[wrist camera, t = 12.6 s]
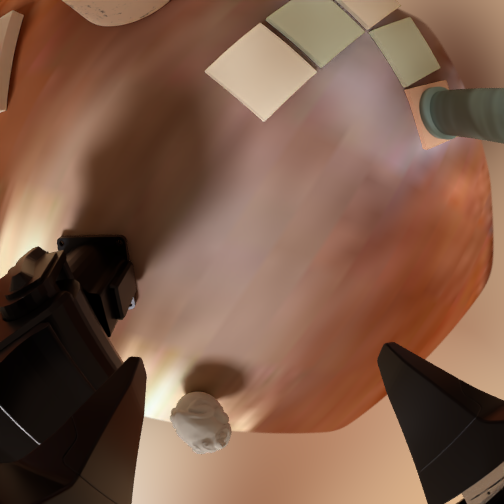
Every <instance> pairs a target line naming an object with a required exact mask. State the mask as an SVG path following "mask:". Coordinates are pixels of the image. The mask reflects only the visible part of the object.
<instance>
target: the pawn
mask: <svg viewBox="0 0 504 504" xmlns="http://www.w3.org/2000/svg"><path fill="white" fill-rule="evenodd" d="M419 111H420V116H421V119H422V122H423V124H424V126H425V128H426V129H427V131H428V132H429V133H430V134H431V135H432V136H434V137H436V138H439V139H446V140H450V139H453V138H455V137H456V136H459V137H467V138H474V139H481V140H487V141H493V142H498V143H504V88H478V89H457V90H448V89H446V88H444V87H431V88H428V89H426V90H425V91H424V92H423V93H422V95H421V98H420V102H419Z"/></svg>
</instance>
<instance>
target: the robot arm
mask: <svg viewBox="0 0 504 504" xmlns="http://www.w3.org/2000/svg"><path fill="white" fill-rule="evenodd" d="M118 240H121V241H122V244H120V243H119V242H118ZM62 241H63V242H64V244H62ZM57 245H58V252H52V253H48V252H46V251H44V250H43V249H41V248H40V247H39V246H38V247H35V248H33V249H31V250H30V251H29V252H27V253H26V254H25V255H24V256H23V257H21V258H20V259H19V260H18V262H17V263H16V266H14V267H12V268H11V269H9V271H8V274H6V275H5V276H4V277H2V278H1V279H0V504H131V503H132V492H133V484H134V476H135V469H136V461H137V455H138V448H139V441H140V436H141V430H142V424H143V418H144V408H145V392H146V379H147V376H146V371H145V368H144V364H143V361H142V359H141V358H140V357H129V358H128V359H127V360H126V361H125V362H123V361H122V359H121V358H120V356H119V355H118V353H117V351H116V350H115V348H114V346H113V345H112V343H111V341H110V340H109V338H108V337H110V336H111V334H112V332H113V330H114V328H115V325H116V323H117V321H118V320H123V318H124V317H125V315H126V313H127V311H128V309H133V308H134V307H135V305H136V299H135V293H136V290H137V288H136V282H135V276H134V269H133V263H132V262H131V261H129V254H128V246H127V240H126V238H125V237H124V236H123V235H87V236H62V237H60V238H59V239H58V240H57ZM131 303H132V304H131ZM377 362H378V366H379V369H380V372H381V376H382V379H383V382H384V385H385V389H386V392H387V394H388V397H389V400H390V402H391V404H392V407H393V409H394V411H395V414H396V416H397V419H398V421H399V424H400V426H401V429H402V431H403V433H404V436H405V439H406V442H407V444H408V447H409V450H410V452H411V455H412V458H413V461H414V463H415V466H416V469H417V472H418V475H419V478H420V481H421V484H422V487H423V490H424V493H425V497H426V500H427V503H428V504H445V503H446V502H448V501H450V500H451V499H453V498H455V497H456V496H458V495H459V494H461V493H462V495H463V497H464V498H463V499H462V500H461V501H459V502H458V503H456V504H504V400H501V399H499V398H497V397H494V396H492V395H490V394H488V393H485V392H483V391H481V390H478V389H477V388H475V387H473V386H471V385H469V384H467V383H465V382H463V381H462V380H459V379H458V378H456V377H454V376H453V375H451V374H449V373H447V372H445V371H444V370H442V369H440V368H439V367H437V366H435V365H433V364H432V363H430V362H428V361H426V360H425V359H423V358H421V357H419V356H417V355H416V354H414V353H412V352H410V351H409V350H407V349H405V348H403V347H402V346H400V345H398V344H396V343H395V342H390V343H385V344H384V345H383V347H382V349H381V352H380V354H379V356H378V360H377Z"/></svg>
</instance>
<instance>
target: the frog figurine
mask: <svg viewBox="0 0 504 504" xmlns="http://www.w3.org/2000/svg"><path fill="white" fill-rule="evenodd" d="M170 420H171V422H172V425H173V428H174V429H176V433H177V434H178V436H179V437H180V438H181V439H182V440H183V441H184V442H185V443H187V444H188V446H190V447H191V448H192V450H193V452H195V453H198V454H204V453H212V452H215V451H217V450H220V449H222V448H224V447H225V446H226V445H227V444H228V442H229V439H230V437H231V427H230V424H229V423H228V421H229V417H228V415H227V414H226V413H225V412H224V410H223V407H222V406H221V405H220V403H219V402H218V401H217V400H216V399H215V398H214V397H213V396H211V395H209V394H207V393H204V392H191V393H188V394H186V395H184V396H183V397H182V398H181V399H180V400H179V402H178V403H177V406H176V408H173V409H172V410H171V416H170Z"/></svg>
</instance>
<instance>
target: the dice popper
mask: <svg viewBox="0 0 504 504" xmlns="http://www.w3.org/2000/svg"><path fill="white" fill-rule="evenodd" d="M23 17H24V15H22V14H20V13H18V12H16V11H14V10H12V11H11V12H9V13H7V14H6V15H4V16H2V17H1V18H0V113H1V112H3V111H5V110H6V108H7V97H8V88H9V80H10V73H11V67H12V61H13V56H14V51H15V47H16V42H17V38H18V34H19V31H20V27H21V23H22V20H23Z"/></svg>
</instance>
